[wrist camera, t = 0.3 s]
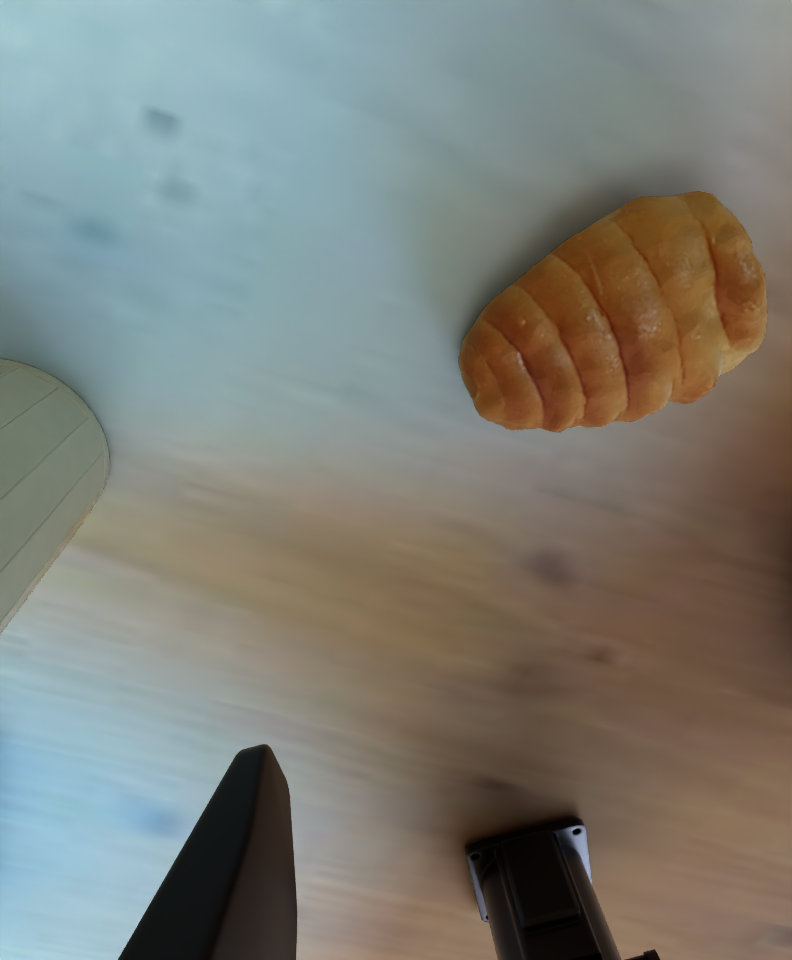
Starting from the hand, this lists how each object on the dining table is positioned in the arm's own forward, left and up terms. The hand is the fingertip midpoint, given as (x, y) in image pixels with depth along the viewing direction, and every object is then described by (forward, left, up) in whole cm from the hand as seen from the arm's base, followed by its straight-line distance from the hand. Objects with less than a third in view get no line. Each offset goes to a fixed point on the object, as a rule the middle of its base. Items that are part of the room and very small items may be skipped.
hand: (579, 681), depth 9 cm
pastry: (+1, -7, -15) cm, 16 cm away
